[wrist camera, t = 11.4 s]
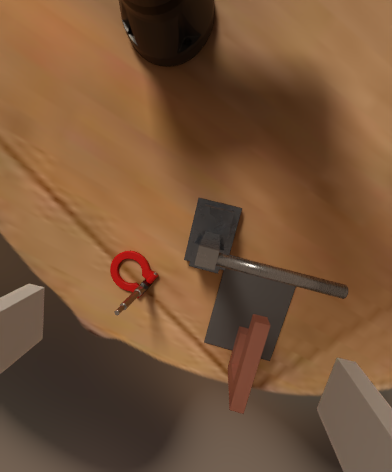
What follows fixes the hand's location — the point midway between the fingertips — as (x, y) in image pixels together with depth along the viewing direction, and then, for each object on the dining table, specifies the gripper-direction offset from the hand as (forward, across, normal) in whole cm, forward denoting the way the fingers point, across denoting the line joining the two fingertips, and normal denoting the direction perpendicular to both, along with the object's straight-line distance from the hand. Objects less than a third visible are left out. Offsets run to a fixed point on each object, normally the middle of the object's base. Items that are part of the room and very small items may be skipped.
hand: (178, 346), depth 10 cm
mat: (+33, +11, -16) cm, 38 cm away
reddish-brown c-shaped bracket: (+28, +11, -12) cm, 33 cm away
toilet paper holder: (+34, +6, -2) cm, 34 cm away
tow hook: (+34, -14, -13) cm, 39 cm away
